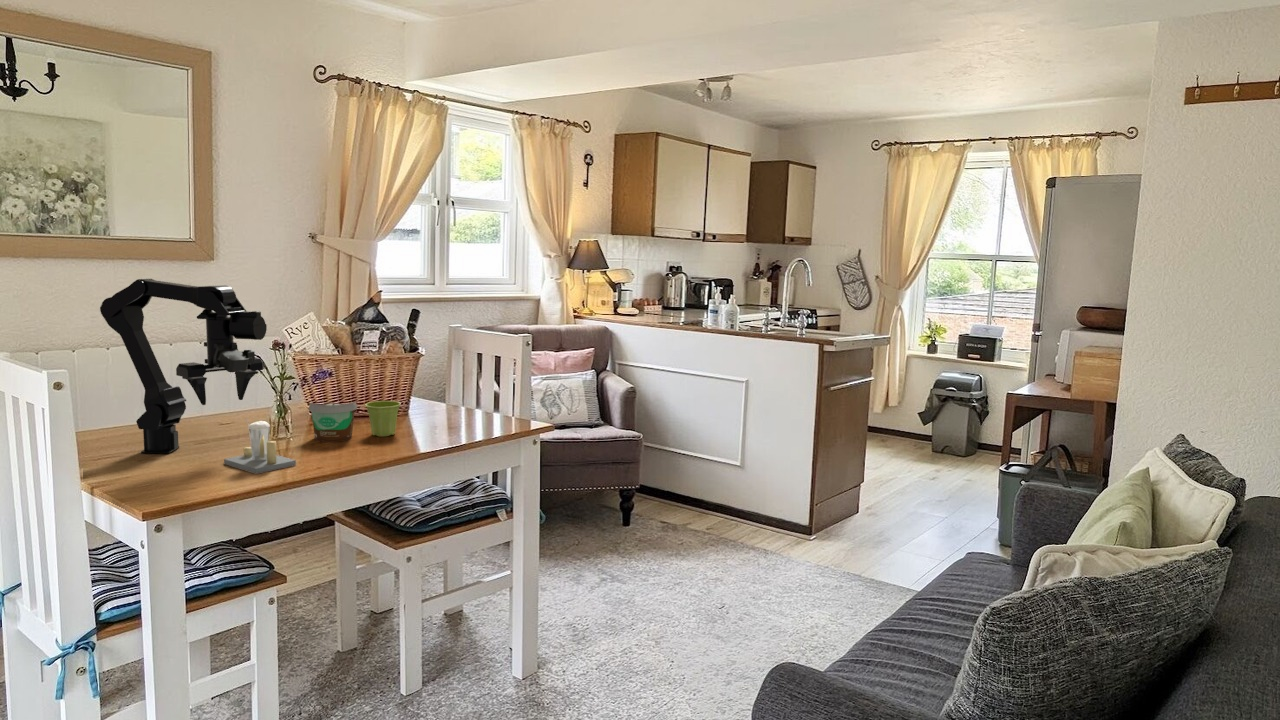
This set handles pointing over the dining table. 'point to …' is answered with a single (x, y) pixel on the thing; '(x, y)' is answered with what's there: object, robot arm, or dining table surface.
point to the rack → (260, 466)
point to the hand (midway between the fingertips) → (222, 402)
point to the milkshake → (259, 439)
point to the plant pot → (383, 417)
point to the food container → (333, 421)
